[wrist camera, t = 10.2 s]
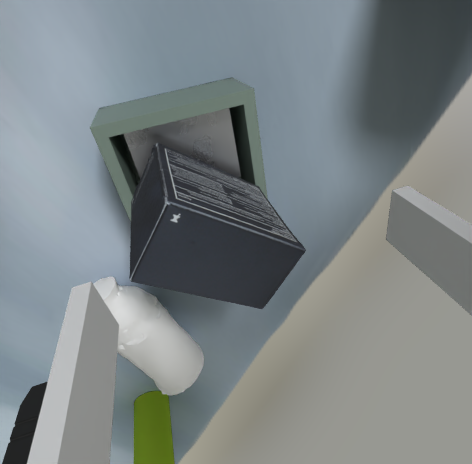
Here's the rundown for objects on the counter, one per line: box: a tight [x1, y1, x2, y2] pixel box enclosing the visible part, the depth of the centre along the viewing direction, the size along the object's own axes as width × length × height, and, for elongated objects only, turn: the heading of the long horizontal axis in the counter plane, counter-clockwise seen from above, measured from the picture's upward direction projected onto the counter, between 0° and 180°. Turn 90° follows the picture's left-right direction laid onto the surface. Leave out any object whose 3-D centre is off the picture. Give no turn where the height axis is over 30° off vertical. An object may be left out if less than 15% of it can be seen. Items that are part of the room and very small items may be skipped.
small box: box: [129, 143, 306, 309], centre depth 25 cm, size 11×6×10 cm, turn 61°
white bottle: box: [93, 276, 204, 396], centre depth 41 cm, size 8×19×8 cm, turn 23°
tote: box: [90, 78, 267, 221], centre depth 32 cm, size 13×16×7 cm
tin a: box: [124, 108, 241, 179], centre depth 30 cm, size 9×6×5 cm
